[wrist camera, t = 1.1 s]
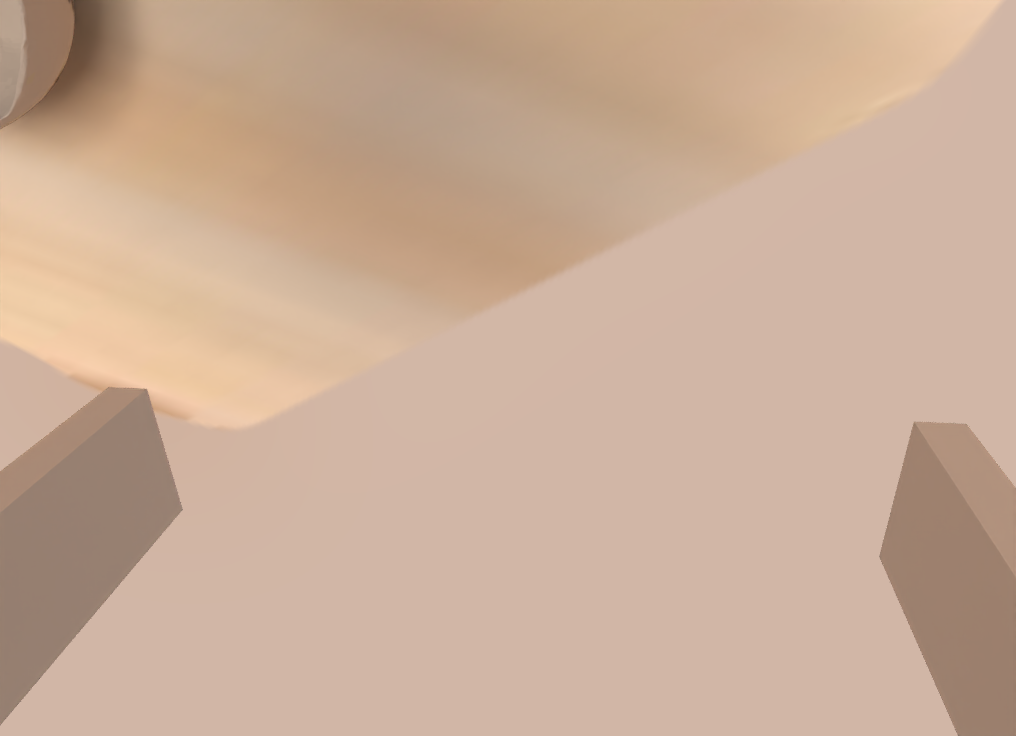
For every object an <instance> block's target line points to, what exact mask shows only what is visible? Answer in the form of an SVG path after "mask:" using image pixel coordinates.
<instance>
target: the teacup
mask: <svg viewBox="0 0 1016 736" xmlns="http://www.w3.org/2000/svg"><path fill="white" fill-rule="evenodd" d="M74 22H75V20H74V5H73V0H0V129H1V128H3V127H5V126H6V125H8V124H10V123H12V122H14V121H15V120H17V119H18V118H20V117H21V116H23V115H24V114H25V113H27V112H28V111H30V110H31V109H32V108H33V107H34V106H35V105H36V104H37V103H38V102H40V101H41V100H42V98H43V97H44V96H45V95H46V94H47V93H48V92H49V91H50V89H51V88H52V87H53V85H54V84H55V83H56V81H57V80H58V78H59V76H60V74H61V72H62V70H63V68H64V66H65V64H66V62H67V59H68V56H69V53H70V49H71V45H72V40H73V34H74Z"/></svg>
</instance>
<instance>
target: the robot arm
mask: <svg viewBox="0 0 1016 736" xmlns="http://www.w3.org/2000/svg"><path fill="white" fill-rule="evenodd" d="M181 511H182V506H181V502H180V499H179V496H178V492H177V489H176V485H175V482H174V479H173V475H172V472H171V469H170V465H169V462H168V459H167V455H166V452H165V448H164V445H163V442H162V438H161V435H160V432H159V428H158V425H157V422H156V418H155V415H154V411H153V408H152V405H151V401H150V398H149V395H148V391H147V389H138V388H114V387H108V388H107V389H106V390H104V391H103V392H102V393H101V394H99V395H98V396H97V397H95V398H94V399H93V400H92V401H90V402H89V403H88V404H86V405H85V406H84V407H83V408H81V409H80V410H79V411H77V412H76V413H75V414H74V415H72V416H71V417H70V418H68V419H67V420H66V421H65V422H63V423H62V424H61V425H59V426H58V427H57V428H56V429H54V430H53V431H52V432H50V433H49V434H48V435H47V436H45V437H44V438H43V439H41V440H40V441H39V442H38V443H36V444H35V445H34V446H32V447H31V448H30V449H29V450H28V451H26V452H25V453H24V454H23V455H21V456H20V457H18V458H17V459H16V460H15V461H13V462H12V463H11V464H9V465H8V466H7V467H5V468H4V469H3V470H2V471H0V725H1V724H2V723H3V721H4V720H5V719H6V718H7V717H8V715H9V714H10V713H11V712H12V711H13V710H14V708H15V707H16V706H17V705H18V704H19V702H20V701H21V700H22V699H23V698H24V696H25V695H26V694H27V693H28V692H29V691H30V689H31V688H32V687H33V686H34V685H35V684H36V682H37V681H38V680H39V679H40V678H41V676H42V675H43V674H44V673H45V672H46V670H47V669H48V668H49V667H50V666H51V665H52V663H53V662H54V661H55V660H56V659H57V657H58V656H59V655H60V654H61V653H62V652H63V650H64V649H65V648H66V647H67V646H68V644H69V643H70V642H71V641H72V639H74V637H75V636H76V635H77V634H78V633H79V632H80V630H81V629H82V628H83V627H84V625H85V624H86V623H87V622H88V621H89V620H90V619H91V617H92V616H93V615H94V614H95V613H96V611H97V610H98V609H99V608H100V607H101V605H102V604H103V603H104V602H105V601H106V600H107V598H108V597H109V596H110V595H111V594H112V593H113V591H114V590H115V589H116V588H117V587H118V585H119V584H120V583H121V582H122V581H123V579H124V578H125V577H126V576H127V574H129V572H130V571H131V570H132V569H133V568H134V566H135V565H136V564H137V563H138V562H139V561H140V559H141V558H142V557H143V556H144V554H145V553H146V552H147V551H148V550H149V549H150V547H151V546H152V545H153V544H154V543H155V542H156V540H157V539H158V538H159V537H160V536H161V535H162V533H163V532H164V531H165V530H166V529H167V527H168V526H169V525H170V524H171V523H172V521H173V520H174V519H175V518H176V517H177V516H178V514H179V513H180V512H181ZM880 559H881V562H882V564H883V566H884V568H885V571H886V573H887V575H888V578H889V580H890V582H891V584H892V586H893V589H894V591H895V593H896V596H897V598H898V600H899V603H900V605H901V607H902V609H903V612H904V614H905V616H906V618H907V621H908V623H909V625H910V628H911V630H912V632H913V634H914V637H915V639H916V641H917V643H918V646H919V648H920V650H921V652H922V655H923V657H924V659H925V662H926V664H927V666H928V668H929V671H930V673H931V675H932V677H933V680H934V682H935V684H936V687H937V689H938V691H939V693H940V696H941V698H942V700H943V703H944V705H945V707H946V709H947V712H948V714H949V716H950V718H951V721H952V723H953V725H954V727H955V730H956V732H957V734H958V736H1016V488H1015V486H1014V485H1013V484H1012V482H1011V481H1010V480H1009V479H1008V477H1007V476H1006V475H1005V473H1004V472H1003V471H1002V470H1001V468H1000V467H999V466H998V464H997V463H996V462H995V460H994V459H993V458H992V457H991V455H990V454H989V453H988V451H987V450H986V449H985V447H984V446H983V445H982V444H981V442H980V441H979V440H978V438H977V437H976V436H975V434H974V433H973V432H972V431H971V429H970V428H969V427H968V425H967V424H956V423H955V424H954V423H933V422H932V423H931V422H914V424H913V427H912V431H911V435H910V439H909V443H908V447H907V451H906V455H905V458H904V463H903V466H902V471H901V474H900V478H899V482H898V486H897V490H896V494H895V497H894V501H893V505H892V509H891V513H890V517H889V521H888V525H887V529H886V532H885V536H884V540H883V544H882V548H881V552H880Z"/></svg>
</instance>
